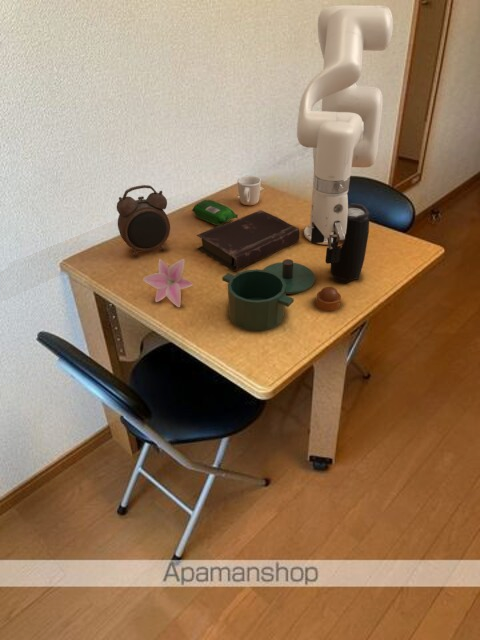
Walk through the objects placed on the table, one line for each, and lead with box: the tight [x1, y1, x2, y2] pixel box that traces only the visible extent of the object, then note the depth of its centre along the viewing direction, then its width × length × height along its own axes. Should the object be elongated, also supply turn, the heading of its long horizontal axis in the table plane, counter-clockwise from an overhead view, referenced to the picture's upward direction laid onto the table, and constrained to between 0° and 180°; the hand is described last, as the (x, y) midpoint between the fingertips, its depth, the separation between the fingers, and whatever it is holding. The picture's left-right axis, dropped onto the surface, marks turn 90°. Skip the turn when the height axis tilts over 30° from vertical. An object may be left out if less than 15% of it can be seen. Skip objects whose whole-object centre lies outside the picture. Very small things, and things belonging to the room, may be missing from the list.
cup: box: [237, 175, 262, 206], centre depth 168 cm, size 11×8×8 cm
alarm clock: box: [116, 184, 171, 258], centre depth 141 cm, size 15×7×20 cm, turn 114°
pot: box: [221, 268, 295, 332], centre depth 120 cm, size 14×19×8 cm
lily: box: [142, 258, 194, 308], centre depth 127 cm, size 12×12×10 cm
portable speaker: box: [330, 202, 371, 284], centre depth 129 cm, size 9×9×20 cm
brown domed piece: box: [315, 286, 342, 312], centre depth 124 cm, size 6×6×5 cm
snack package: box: [191, 198, 239, 227], centre depth 160 cm, size 7×16×5 cm, turn 46°
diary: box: [196, 209, 301, 272], centre depth 147 cm, size 19×25×5 cm
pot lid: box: [262, 258, 316, 295], centre depth 132 cm, size 15×15×6 cm
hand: (324, 252), depth 118 cm, fingers open, 9 cm apart
